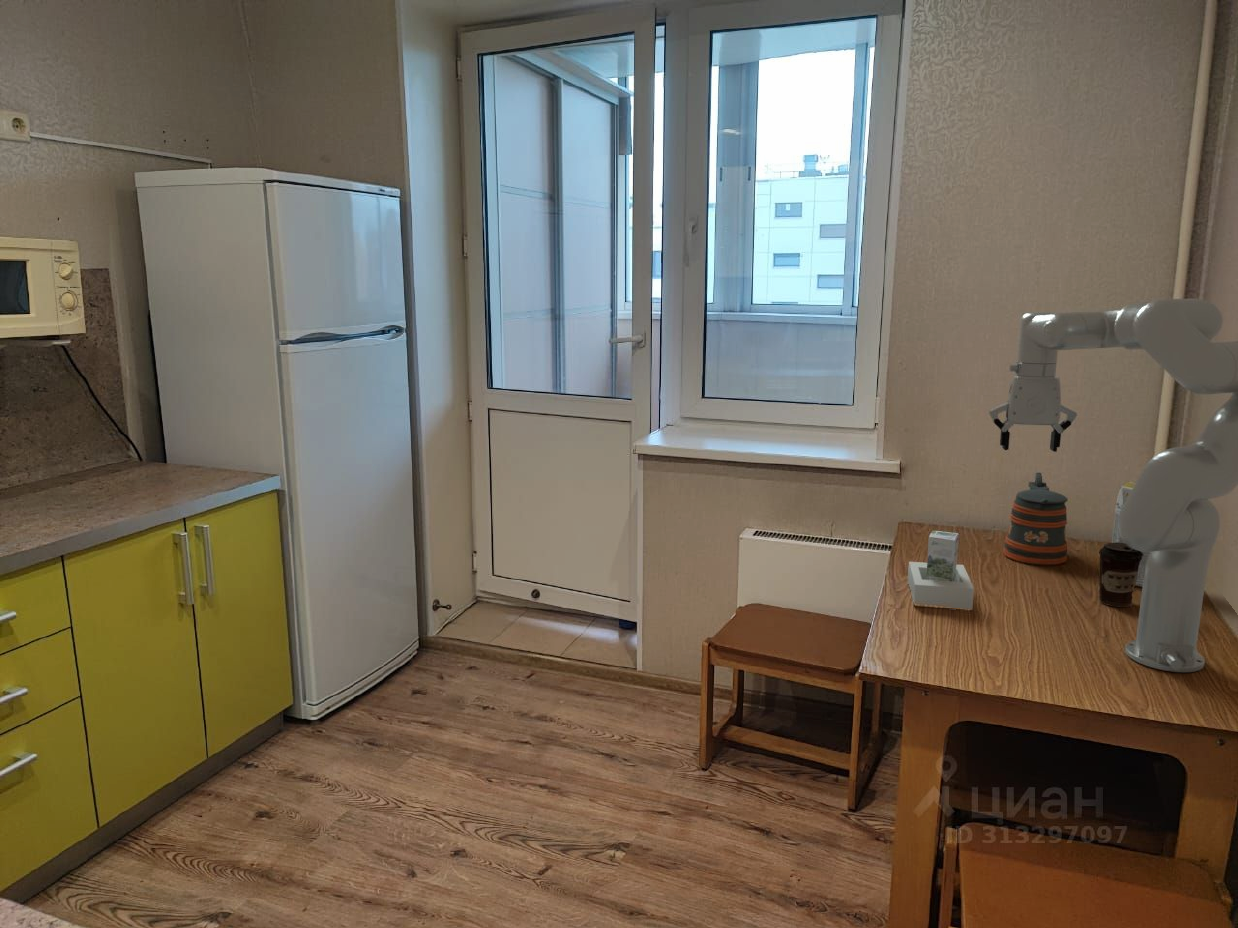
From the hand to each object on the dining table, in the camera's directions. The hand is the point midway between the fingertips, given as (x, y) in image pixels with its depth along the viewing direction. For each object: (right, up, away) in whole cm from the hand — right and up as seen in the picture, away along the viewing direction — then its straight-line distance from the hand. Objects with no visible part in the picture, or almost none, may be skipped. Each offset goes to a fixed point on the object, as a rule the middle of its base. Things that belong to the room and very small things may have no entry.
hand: (1029, 449), depth 189 cm
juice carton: (+31, -31, +15) cm, 46 cm away
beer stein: (+18, -27, +35) cm, 47 cm away
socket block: (-17, -33, +7) cm, 38 cm away
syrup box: (-17, -33, +7) cm, 38 cm away
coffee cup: (+20, -34, +1) cm, 39 cm away
